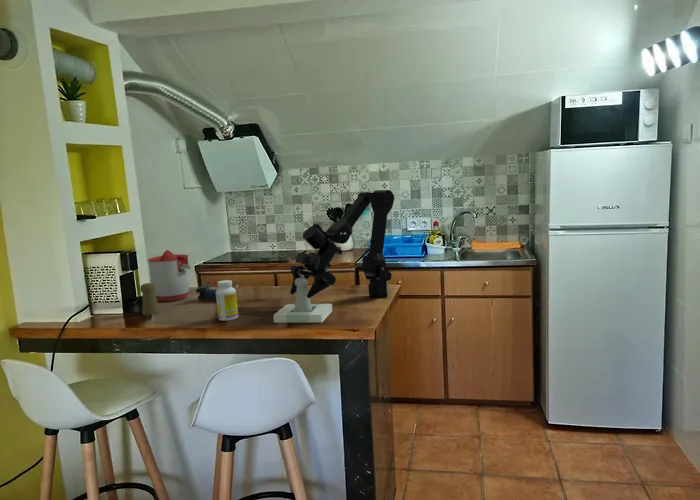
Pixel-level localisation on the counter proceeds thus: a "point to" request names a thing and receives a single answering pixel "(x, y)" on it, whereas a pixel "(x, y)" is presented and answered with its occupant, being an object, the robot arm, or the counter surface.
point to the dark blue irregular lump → (206, 293)
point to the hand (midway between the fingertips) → (299, 295)
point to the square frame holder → (302, 314)
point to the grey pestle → (302, 296)
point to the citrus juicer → (170, 276)
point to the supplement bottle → (226, 301)
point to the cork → (149, 299)
